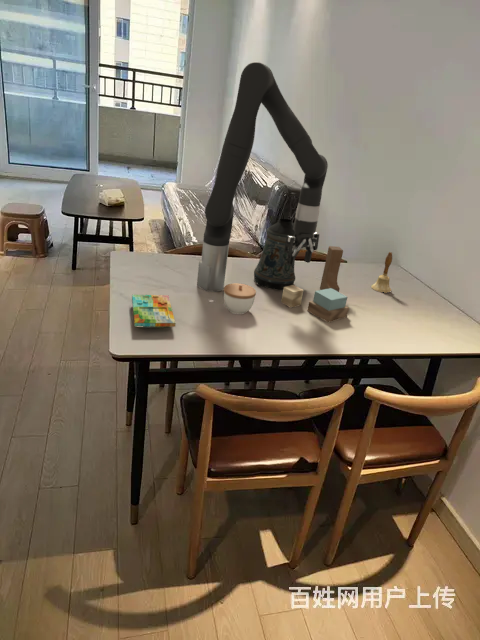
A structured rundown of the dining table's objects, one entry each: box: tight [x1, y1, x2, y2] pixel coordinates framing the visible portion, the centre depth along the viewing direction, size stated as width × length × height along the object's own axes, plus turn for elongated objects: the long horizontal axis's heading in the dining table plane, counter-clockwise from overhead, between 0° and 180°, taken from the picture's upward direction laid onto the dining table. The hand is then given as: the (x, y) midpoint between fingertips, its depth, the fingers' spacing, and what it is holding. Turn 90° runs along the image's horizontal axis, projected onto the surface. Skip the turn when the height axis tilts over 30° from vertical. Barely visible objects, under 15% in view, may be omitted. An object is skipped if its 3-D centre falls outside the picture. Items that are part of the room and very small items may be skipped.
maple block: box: [280, 284, 304, 308], centre depth 171 cm, size 5×5×6 cm
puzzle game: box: [131, 294, 177, 328], centre depth 147 cm, size 12×5×20 cm
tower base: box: [306, 300, 350, 323], centre depth 167 cm, size 10×10×4 cm
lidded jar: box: [223, 282, 257, 315], centre depth 159 cm, size 11×11×9 cm
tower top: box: [312, 288, 348, 311], centre depth 165 cm, size 8×8×4 cm
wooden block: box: [319, 245, 344, 293], centre depth 181 cm, size 9×4×18 cm, turn 9°
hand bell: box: [370, 251, 393, 294], centre depth 194 cm, size 8×8×16 cm
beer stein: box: [253, 218, 302, 291], centre depth 185 cm, size 16×19×25 cm
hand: (298, 263), depth 165 cm, fingers open, 8 cm apart
